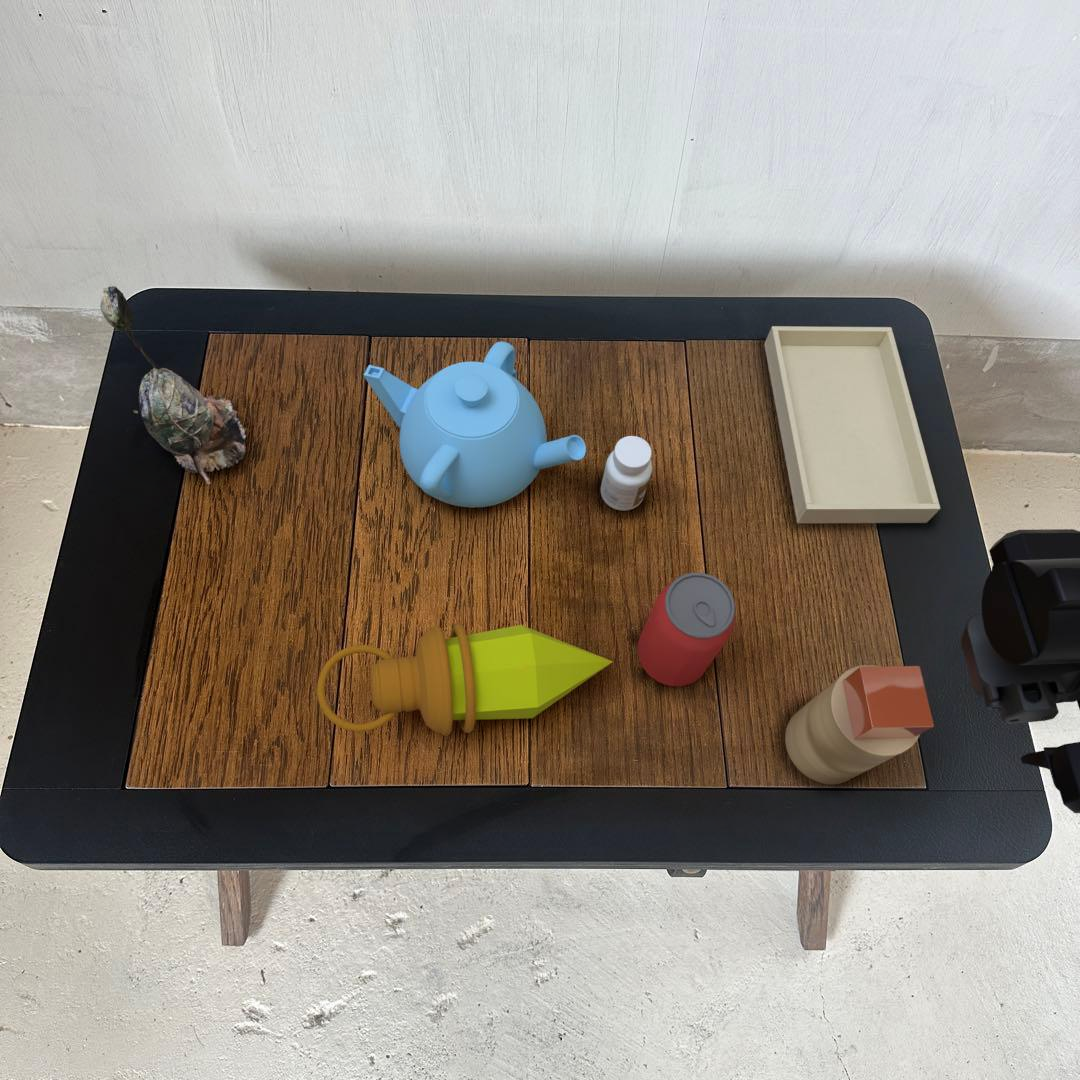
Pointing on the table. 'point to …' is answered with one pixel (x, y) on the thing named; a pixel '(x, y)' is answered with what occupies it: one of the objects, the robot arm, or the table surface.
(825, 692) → the pedestal
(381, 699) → the plumb bob
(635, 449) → the pill bottle
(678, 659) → the beer can
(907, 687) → the clay block
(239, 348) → the table surface
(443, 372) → the teapot
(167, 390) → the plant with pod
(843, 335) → the beige tray
